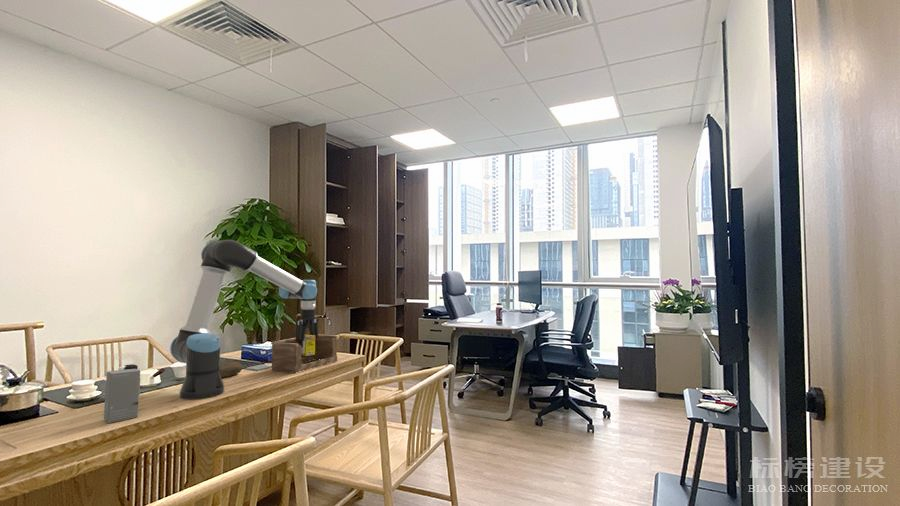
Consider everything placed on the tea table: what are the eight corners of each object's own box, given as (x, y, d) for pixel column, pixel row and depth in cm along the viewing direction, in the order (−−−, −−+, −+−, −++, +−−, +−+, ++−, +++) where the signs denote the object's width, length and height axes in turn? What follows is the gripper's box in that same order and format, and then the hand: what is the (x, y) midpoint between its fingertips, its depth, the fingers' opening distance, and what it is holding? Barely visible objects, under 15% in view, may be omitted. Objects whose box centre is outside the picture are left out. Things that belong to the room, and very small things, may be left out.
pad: (257, 370, 204) (257, 369, 204) (245, 369, 208) (245, 368, 208) (272, 367, 212) (272, 366, 212) (260, 365, 216) (260, 364, 216)
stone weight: (215, 381, 184) (215, 366, 184) (204, 380, 186) (204, 365, 187) (243, 374, 198) (243, 360, 198) (232, 373, 200) (232, 359, 200)
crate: (294, 373, 198) (295, 344, 199) (270, 370, 205) (271, 342, 206) (338, 361, 226) (338, 335, 227) (315, 358, 233) (315, 333, 234)
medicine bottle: (136, 392, 167) (138, 362, 168) (139, 395, 162) (140, 365, 163) (114, 395, 162) (115, 365, 163) (116, 399, 157) (117, 368, 158)
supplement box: (315, 355, 218) (315, 335, 218) (305, 357, 212) (306, 336, 213) (307, 354, 221) (308, 334, 221) (298, 356, 216) (298, 335, 216)
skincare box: (107, 424, 131) (109, 374, 132) (102, 419, 136) (104, 370, 137) (139, 417, 138) (141, 369, 139) (134, 412, 142) (135, 366, 143)
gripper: (299, 310, 208) (298, 356, 206) (326, 307, 225) (325, 350, 224) (288, 309, 211) (287, 354, 210) (315, 307, 228) (314, 349, 227)
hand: (306, 352), depth 217 cm, fingers closed on supplement box, 6 cm apart
